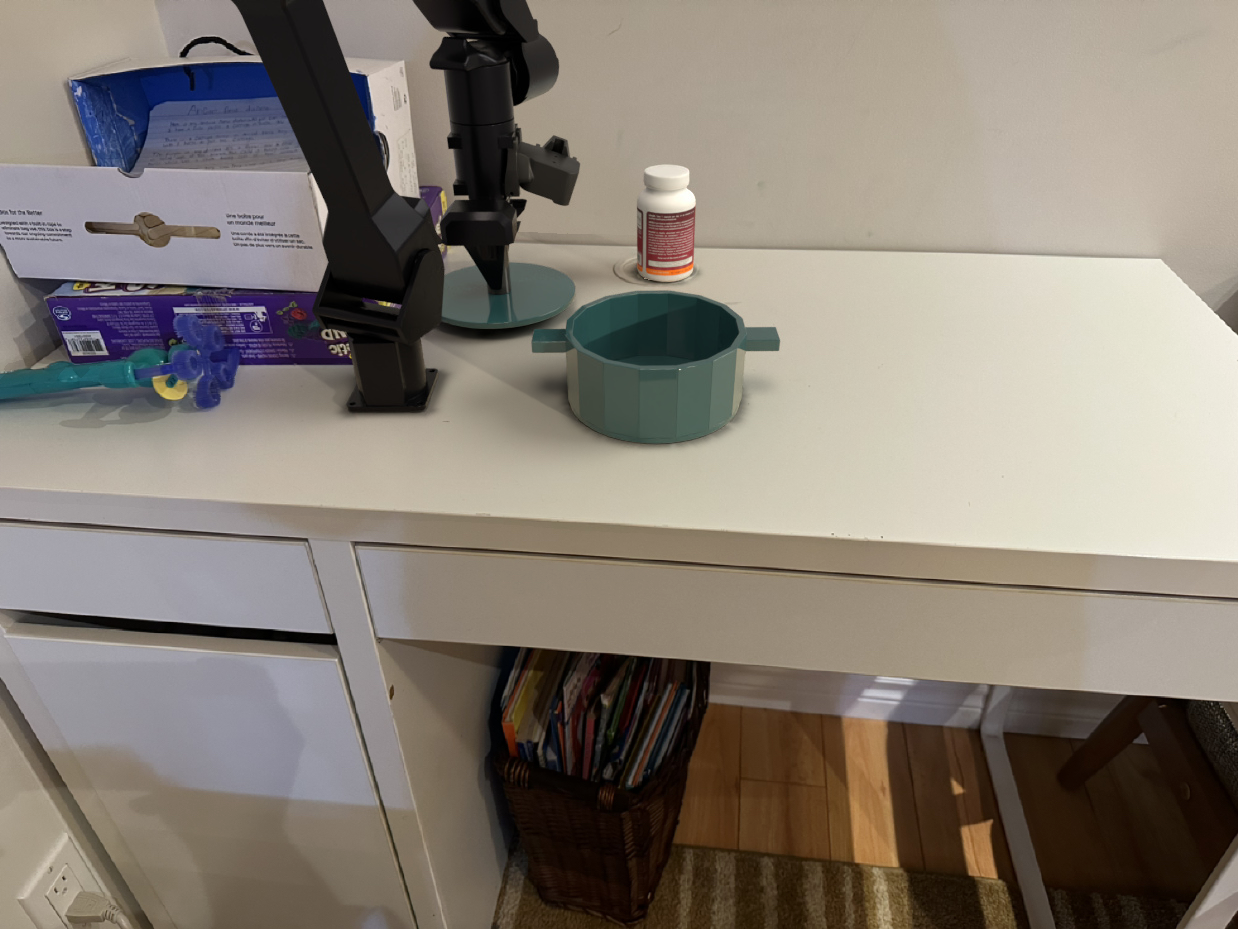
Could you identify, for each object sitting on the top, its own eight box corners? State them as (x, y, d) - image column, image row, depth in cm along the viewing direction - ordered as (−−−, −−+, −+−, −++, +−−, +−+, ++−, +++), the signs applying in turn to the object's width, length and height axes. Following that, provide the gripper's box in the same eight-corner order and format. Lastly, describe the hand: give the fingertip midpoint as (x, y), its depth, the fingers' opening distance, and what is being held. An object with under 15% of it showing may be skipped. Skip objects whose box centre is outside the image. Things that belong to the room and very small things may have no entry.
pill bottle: (704, 272, 92) (710, 170, 86) (666, 288, 89) (668, 183, 83) (663, 257, 96) (665, 158, 90) (625, 272, 93) (624, 170, 86)
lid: (572, 334, 79) (569, 271, 75) (409, 335, 79) (399, 272, 75) (579, 271, 91) (576, 215, 88) (438, 273, 91) (430, 216, 88)
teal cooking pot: (784, 443, 65) (794, 368, 61) (529, 444, 65) (523, 370, 61) (760, 356, 76) (766, 289, 72) (543, 358, 76) (539, 291, 73)
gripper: (566, 144, 67) (574, 323, 76) (577, 95, 82) (582, 249, 91) (427, 145, 67) (451, 324, 76) (463, 96, 83) (480, 250, 91)
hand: (498, 283), depth 84 cm, fingers closed on lid, 2 cm apart
